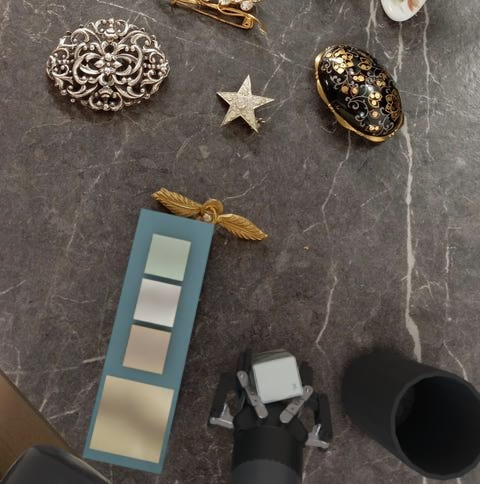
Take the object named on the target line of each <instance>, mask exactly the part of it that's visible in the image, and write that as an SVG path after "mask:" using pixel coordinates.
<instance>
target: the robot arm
mask: <svg viewBox="0 0 480 484" xmlns="http://www.w3.org/2000/svg"><path fill="white" fill-rule="evenodd" d="M252 355H253V349H252V348H248V347H246V349H245V351H241V352H240V353H239V355H238V359H237V361H236V368H235V373H232V374H231V373H230V372H228V371H223V372H222V373H221V375H220V377H219V381H218V384H217V387H216V391H215V394H214V397H213V400H212V404H211V406H210V410H209V414H208V418H207V421H206V424H207V427H208V428H210V429H216V428H218V426H221V427H224V428H226V429H230V432H231V435H232V437H233V444H232V452H231V461H230V468H229V469H230V470H229V478H228V483H227V484H303V465H304V449H305V448H306V447H307V446H308V447H309V446H310V447H316V448H317V450H318V451H319V453H323V454H324V453H327V452H328V450H329V447H330V445H331V443H332V440H333V438H334V430H333V423H332V415H331V408H330V399H329V395H327V394H326V393H324V392H319V393H318V392H316V391H315V390H314V387H313V384H314V383H313V382H314V381H313V380H314V369H313V368H312V366H309V361H307V360H303V359H302V360H301V363H300V364H299V367H298V368H299V369H298V371H299V375H300V379H301V384H302V388H303V394H302V395H299V396H295V397H292V398H293V399H292V400H291V401H290V402H289V403H288V402H286V401H283V400H279V401H274V402H270V403H265V404H262V402H261V399H260V397H259V396H258V393H257V390H256V388H255V386H252V384H251V381H250V376H249V373H250V366H251V357H252ZM229 392H234V395H235V397H236V400H237V403H238V408H239V412H237V413H235V415H234V416H233V415H232V414H231V411H230V410H231V409H230V406H229V405H228V403H226V399H227V395H228V393H229ZM307 408H308V409H311V410H312V414H313V421H314V422H313V423H314V425H313V426H312V429H311V431H310V432H308V430H307V428H306V427H305V425H304V423H303V422H302V421H301V419H300V418H301V416H302V415H303V414H304V412H305V411H306V409H307ZM0 484H114V483H113V482H112V481H110V480H109V479H108V478H107V477H105V476H104V475H103V474H102V473H101V472H99V471H98V470H96V468H94V467H92V466H91V465H90V464H88V463H87V462H85V461H84V460H82V459H81V458H79V457H77V456H76V455H75V454H73V453H71V452H69V451H67V450H65V449H63V448H61V447H58V446H55V445H53V444H50V443H49V444H48V443H37V444H33V445H30V446H29V447H27V448H26V449H25V450H24V451H23V452H22V453H21V454H20V455H19V456H18V457H17V459H16V460H15V461H14V463H12V464H11V466H10V467H9V468H8V470H7V471H6V472H5V474H4V475H3V477H2V478H1V480H0Z"/></svg>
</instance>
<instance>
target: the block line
mask: <svg viewBox="0 0 480 484" xmlns="http://www.w3.org/2000/svg"><path fill="white" fill-rule="evenodd" d="M190 247H191V241H186V240H182V239H177V238H173V237H168V236H164V235H159V234H154V233H153V235H152V240H151V244H150V248H149V253H148V257H147V261H146V265H145V270H144V273H145V274H149V275H154V276H158V277H163V278H167V279H172V280H177V281H181V282H183V279H184V275H185V270H186V266H187V261H188V257H189V252H190ZM181 288H182V287H181V286H177V285H172V284H168V283H163V282H158V281H154V280H149V279H145V278H143V279H142V283H141V287H140V291H139V296H138V300H137V304H136V309H135V313H134V317H133V319H136V320H140V321H145V322H150V323H154V324H159V325H163V326H168V327H173V325H174V320H175V316H176V311H177V306H178V302H179V297H180V293H181ZM171 334H172V331H170V330H165V329H161V328H156V327H151V326H147V325H142V324H138V323H133V324H132V326H131V330H130V334H129V339H128V343H127V347H126V352H125V356H124V360H123V365H122V366H125V367H129V368H134V369H138V370H143V371H148V372H152V373H157V374H161V375H162V374H163V370H164V365H165V361H166V356H167V352H168V347H169V343H170V338H171ZM173 394H174V390H173V389H169V388H164V387H160V386H155V385H150V384H146V383H141V382H137V381H132V380H127V379H123V378H118V377H114V376H109V375H106V380H105V384H104V388H103V392H102V397H101V401H100V405H99V409H98V414H97V418H96V422H95V426H94V430H93V435H92V439H91V443H90V447H89V448H90V449H95V450H99V451H104V452H109V453H113V454H118V455H122V456H127V457H132V458H136V459H141V460H145V461H150V462H155V463H159V458H160V454H161V449H162V445H163V440H164V435H165V431H166V426H167V421H168V417H169V412H170V408H171V403H172V398H173Z"/></svg>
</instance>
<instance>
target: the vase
mask: <svg viewBox="0 0 480 484" xmlns="http://www.w3.org/2000/svg"><path fill="white" fill-rule="evenodd" d="M341 381H342V382H341V385H340V393H341V394H340V395H341V396H340V398H341V402H342V406H343V408H344V411H345V414H346V415H347V416H348V418H349V419H350V420H351V421H352V422H353V424H354V425H355V426H356V427H357V428H358V429H360V430H361V431H362V432H364V433H365V434H367V435H368V436H369V437H370V438H371V439H372V440H374V441H375V442H377V443H378V444H379V445H380V446H382V448H384V449H385V450H387V451H388V452H389V453H390V454H391V455H393V456H394V457H395V458H397V459H398V460H399V461H400V462H402V463H403V464H404V465H405V466H406V467H408V468H409V469H411V470H413V471H414V472H416V473H417V474H419V475H421V476H422V477H424V478H426V479H432V480H436V481H440V482H441V481H442V482H444V481H449V480H454V479H459V478H463V476H465V475H467V474H468V473H470V472H471V471H473V470H474V469H476V468H477V466H479V463H480V392H479V391H478V390H477V389H476V387H475V386H474V385H473V383H472V382H469V381H468V380H466V379H465V378H463V377H462V376H460V375H458V374H456V373H454V372H451V371H448V370H444V369H441V368H438V367H435V366H432V365H430V364H429V365H428V364H425V363H422V362H419V361H415V360H413V359H409V358H406V357H403V356H400V355H396V354H394V353H389V352H384V351H379V350H378V351H372V352H367V353H364V354H362V355H361V356H360V357H357V358H356V359H354V360H353V361H352V363H351V364H350V365H349V366H348V368H346V370H345V371H344V375H343V378H342V380H341ZM412 386H414V402H413V406H412V409H411V411H410V413H409V414H408V416H407V417H406V418H405V419H404V421H403V422H401V424H399V425H397V426H396V415H397V411H398V408H399V405H400V402H401V399H402V398H403V397H404V395H405V394H406V393H407V392H408V390H409V389H410V387H412Z"/></svg>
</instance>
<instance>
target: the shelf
mask: <svg viewBox="0 0 480 484" xmlns="http://www.w3.org/2000/svg"><path fill="white" fill-rule="evenodd" d="M215 225H216V224H215V223H212V222H207V221H202V220H198V219H194V218H189V217H184V216H180V215H175V214H169V213H165V212H161V211H157V210H152V209H148V208H144V207H141V208H140V212H139V215H138V220H137V224H136V229H135V232H134V237H133V241H132V246H131V250H130V255H129V258H128V262H127V265H126V266H127V267H126V270H125V275H124V278H123V283H122V287H121V291H120V295H119V300H118V303H117V309H116V313H115V317H114V321H113V326H112V329H111V333H110V338H109V343H108V346H107V351H106V355H105V359H104V362H103V363H104V364H103V367H102V372H101V377H100V379H99V384H98V388H97V393H96V397H95V401H94V405H93V409H92V414H91V419H90V423H89V426H88V430H87V435H86V439H85V443H84V448H83V452H82V456H81V457H82V459H87V460H92V461H95V462H96V461H97V462H101V463H104V464H105V463H106V464H110V465H115V466H120V467H123V468H124V467H125V468H129V469H134V470H139V471H142V472H148V473H152V474H157V475H162V473H163V472H162V471H163V468H164V464H165V458H166V454H167V449H168V446H169V445H168V444H169V440H170V435H171V431H172V426H173V421H174V417H175V413H176V408H177V403H178V398H179V393H180V389H181V384H182V379H183V375H184V370H185V367H186V366H185V365H186V362H187V356H188V351H189V347H190V342H191V337H192V334H193V333H192V332H193V328H194V325H195V319H196V315H197V309H198V306H199V305H198V304H199V299H200V296H201V295H200V294H201V291H202V286H203V282H204V277H205V272H206V269H207V264H208V259H209V254H210V249H211V244H212V239H213V235H214V230H215V227H216V226H215ZM153 233H154V234H159V235H164V236H168V237H173V238H177V239H182V240H186V241H191V247H190V252H189V257H188V261H187V266H186V270H185V275H184V279H183V282H181V281H177V280H172V279H167V278H163V277H158V276H154V275H149V274H145V273H144V270H145V265H146V261H147V257H148V253H149V248H150V244H151V240H152V235H153ZM143 278H145V279H149V280H154V281H158V282H163V283H168V284H172V285H177V286H181V287H182V288H181V293H180V297H179V302H178V306H177V311H176V316H175V320H174V325H173V327H168V326H163V325H159V324H154V323H150V322H145V321H140V320H136V319H133V317H134V313H135V309H136V304H137V300H138V296H139V291H140V287H141V283H142V279H143ZM133 323H138V324H142V325H147V326H151V327H156V328H161V329H165V330H170V331H172V334H171V338H170V343H169V347H168V352H167V356H166V361H165V365H164V370H163V374H162V375H161V374H157V373H152V372H148V371H143V370H138V369H134V368H129V367H125V366H122V365H123V360H124V356H125V352H126V347H127V343H128V339H129V334H130V330H131V326H132V324H133ZM106 375H109V376H114V377H118V378H123V379H127V380H132V381H137V382H141V383H146V384H150V385H155V386H160V387H164V388H169V389H173V390H174V394H173V398H172V403H171V408H170V412H169V417H168V421H167V426H166V431H165V435H164V440H163V445H162V449H161V454H160V458H159V463H155V462H150V461H145V460H141V459H136V458H132V457H127V456H122V455H118V454H113V453H109V452H104V451H99V450H95V449H90V448H89V447H90V443H91V439H92V435H93V430H94V426H95V422H96V418H97V414H98V409H99V405H100V401H101V397H102V392H103V388H104V384H105V380H106Z"/></svg>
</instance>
